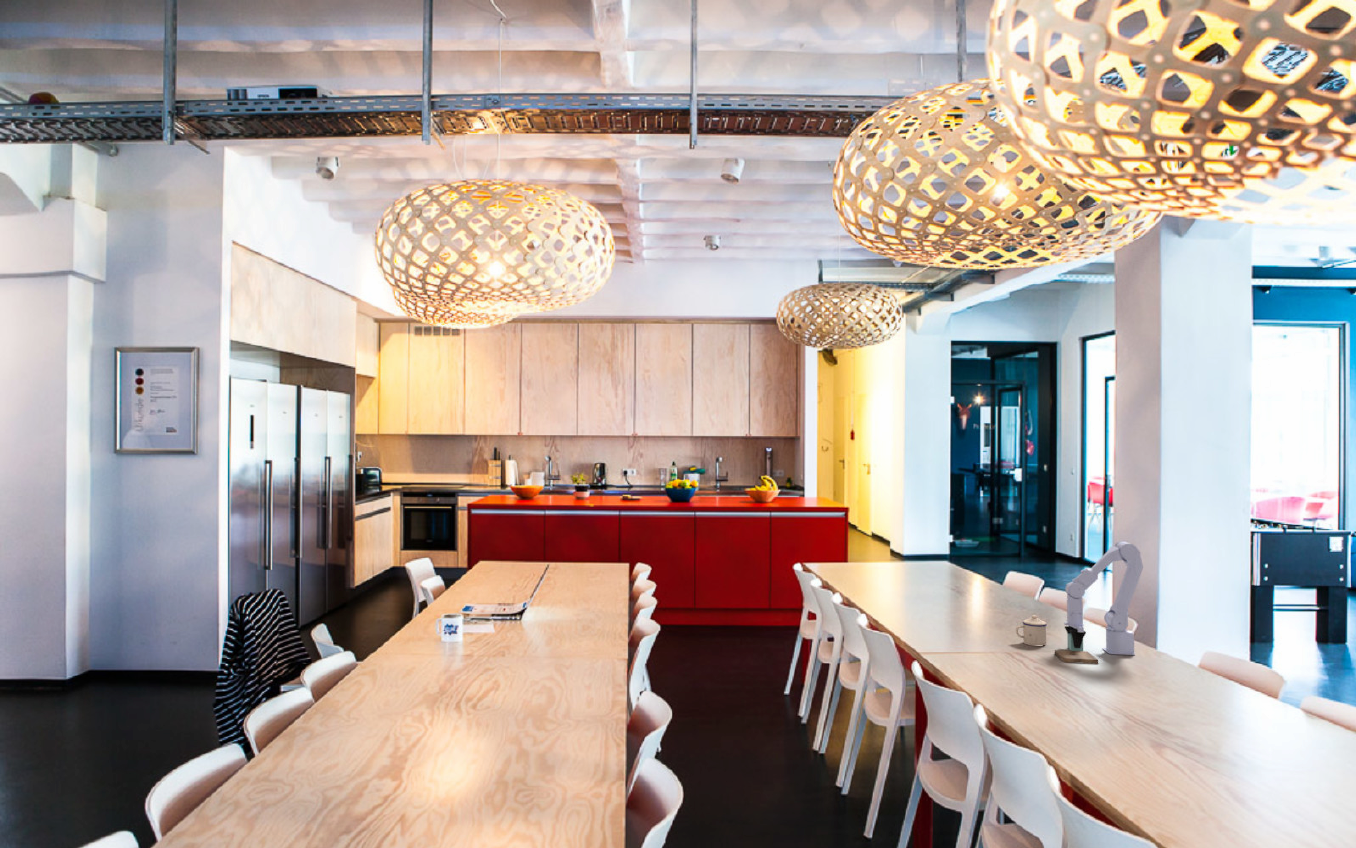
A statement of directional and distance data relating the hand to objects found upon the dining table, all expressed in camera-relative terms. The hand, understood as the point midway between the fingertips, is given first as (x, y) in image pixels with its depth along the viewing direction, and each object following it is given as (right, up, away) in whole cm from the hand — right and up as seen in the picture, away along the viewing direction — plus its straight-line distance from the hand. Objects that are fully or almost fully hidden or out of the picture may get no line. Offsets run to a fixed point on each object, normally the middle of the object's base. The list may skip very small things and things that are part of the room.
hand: (1075, 646), depth 316 cm
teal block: (0, -1, 0) cm, 1 cm away
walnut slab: (-6, -1, -13) cm, 15 cm away
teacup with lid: (-14, -2, +9) cm, 17 cm away
